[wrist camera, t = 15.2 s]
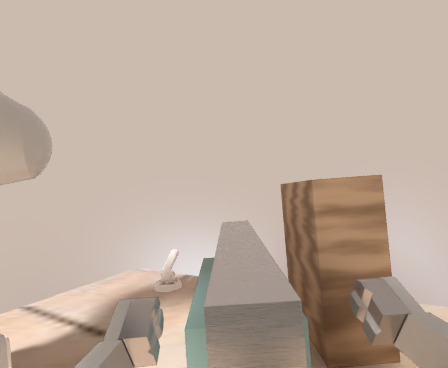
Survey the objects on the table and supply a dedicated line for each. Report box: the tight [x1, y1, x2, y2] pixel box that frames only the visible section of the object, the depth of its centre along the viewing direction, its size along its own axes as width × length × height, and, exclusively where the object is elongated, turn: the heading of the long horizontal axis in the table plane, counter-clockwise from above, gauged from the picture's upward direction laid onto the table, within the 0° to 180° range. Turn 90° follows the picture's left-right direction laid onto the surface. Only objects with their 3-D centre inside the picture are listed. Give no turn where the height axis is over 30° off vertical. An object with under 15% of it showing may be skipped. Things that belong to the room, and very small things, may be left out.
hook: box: [154, 249, 182, 292], centre depth 70 cm, size 8×12×7 cm
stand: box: [281, 175, 400, 368], centre depth 43 cm, size 18×10×26 cm, turn 1°
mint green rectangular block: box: [185, 258, 312, 368], centre depth 24 cm, size 17×8×16 cm, turn 1°
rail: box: [204, 221, 307, 368], centre depth 24 cm, size 28×4×4 cm, turn 179°
